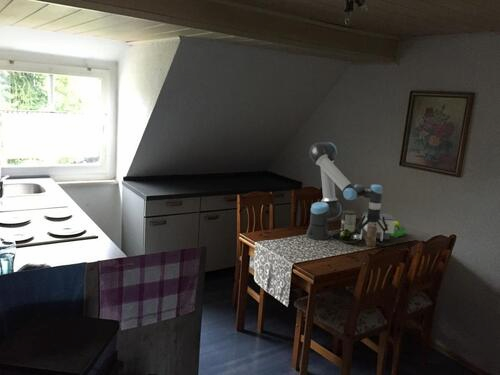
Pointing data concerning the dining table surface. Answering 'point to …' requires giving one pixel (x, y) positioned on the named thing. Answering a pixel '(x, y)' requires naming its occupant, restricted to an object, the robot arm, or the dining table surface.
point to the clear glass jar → (348, 220)
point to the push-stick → (371, 236)
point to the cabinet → (388, 220)
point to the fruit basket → (398, 230)
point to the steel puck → (356, 236)
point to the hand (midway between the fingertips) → (370, 239)
